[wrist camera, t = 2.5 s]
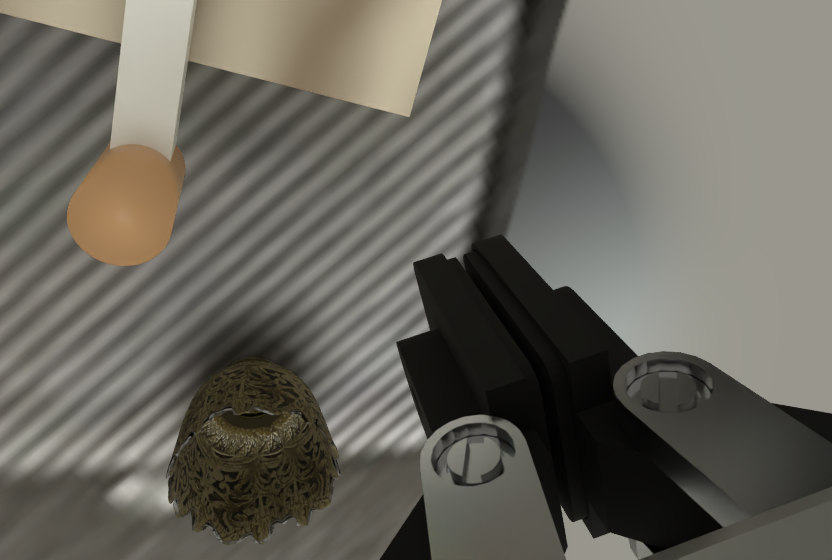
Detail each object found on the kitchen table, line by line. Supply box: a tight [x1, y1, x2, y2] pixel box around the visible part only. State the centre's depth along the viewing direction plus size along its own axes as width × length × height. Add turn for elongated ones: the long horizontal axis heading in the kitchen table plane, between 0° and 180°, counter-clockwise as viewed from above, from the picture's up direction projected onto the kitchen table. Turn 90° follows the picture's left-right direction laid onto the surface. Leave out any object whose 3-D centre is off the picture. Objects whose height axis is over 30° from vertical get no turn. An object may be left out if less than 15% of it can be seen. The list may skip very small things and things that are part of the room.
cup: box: [166, 357, 341, 545], centre depth 32 cm, size 8×7×8 cm
